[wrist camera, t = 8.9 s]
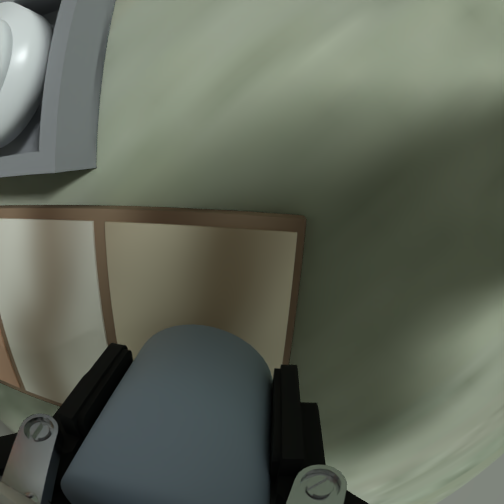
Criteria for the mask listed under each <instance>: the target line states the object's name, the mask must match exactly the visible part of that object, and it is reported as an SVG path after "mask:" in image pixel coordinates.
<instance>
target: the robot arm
mask: <svg viewBox="0 0 504 504" xmlns="http://www.w3.org/2000/svg"><path fill="white" fill-rule="evenodd" d="M132 362H133V356H132V352H131V350H128V348H127V346H126V345H122V344H116V343H110V344H109V346H108V347H107V348H106V349H105V351H104V352H103V353H102V354H101V356H100V357H99V358H98V360H97V361H96V362H95V363H94V365H93V366H92V367H91V369H90V370H89V371H88V372H87V373H86V374H85V375H84V376H83V377H82V379H81V380H80V381H79V382H78V384H77V385H76V386H75V388H74V389H73V390H72V392H71V393H70V394H69V396H68V397H67V398H66V400H65V401H64V402H63V404H62V405H61V406H60V408H59V409H58V410H57V412H56V413H55V415H54V416H53V417H51V416H49V415H46V414H35V415H31V416H29V417H27V418H26V419H25V420H24V421H23V422H22V424H21V426H20V428H19V431H18V433H15V434H10V435H6V436H1V437H0V504H71V503H70V501H69V500H68V499H67V498H66V496H65V495H64V493H63V491H62V488H61V479H62V477H63V476H64V474H65V472H66V470H67V469H68V467H69V465H70V464H71V462H72V460H73V458H74V457H75V455H76V453H77V452H78V450H79V448H80V447H81V445H82V443H83V441H84V440H85V438H86V436H87V435H88V433H89V431H90V430H91V428H92V426H93V425H94V423H95V422H96V420H97V418H98V417H99V415H100V413H101V412H102V410H103V408H104V407H105V405H106V404H107V402H108V400H109V399H110V397H111V396H112V394H113V392H114V391H115V389H116V388H117V386H118V384H119V383H120V381H121V380H122V378H123V376H124V375H125V373H126V372H127V370H128V369H129V367H130V365H131V364H132ZM269 475H270V504H368V503H367V502H365V501H363V500H362V499H360V498H358V497H357V496H355V495H354V494H352V493H350V492H349V491H347V482H346V479H345V477H344V475H343V474H342V473H341V472H340V471H339V470H337V469H335V468H334V467H331V466H327V465H325V457H324V449H323V441H322V433H321V425H320V418H319V410H318V405H317V403H304V402H300V392H299V380H298V368H297V365H283V364H281V366H280V368H274V374H273V382H272V412H271V444H270V470H269Z"/></svg>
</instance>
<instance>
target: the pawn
mask: <svg viewBox="0 0 504 504" xmlns="http://www.w3.org/2000/svg"><path fill="white" fill-rule="evenodd" d="M272 382H273V379H272V375H271V372H270V369H269V367H268V365H267V363H266V362H265V360H264V359H263V357H262V356H261V355H260V354H259V353H258V352H257V351H256V350H255V349H254V348H253V347H252V346H251V345H250V344H248V343H247V342H245V341H244V340H243V339H241V338H239V337H237V336H235V335H234V334H231V333H229V332H227V331H224V330H221V329H218V328H215V327H210V326H205V325H194V324H192V325H179V326H173V327H170V328H166V329H164V330H162V331H159V332H158V333H156V334H155V335H153V336H152V337H151V338H150V339H148V340H147V342H146V343H145V344H144V345H143V347H142V348H141V350H140V351H139V353H138V355H137V356H136V358H135V359H134V361H133V362H132V364H131V365H130V367H129V369H128V370H127V372H126V373H125V375H124V376H123V378H122V380H121V381H120V383H119V384H118V386H117V388H116V389H115V391H114V392H113V394H112V396H111V397H110V399H109V400H108V402H107V404H106V405H105V407H104V408H103V410H102V412H101V413H100V415H99V417H98V418H97V420H96V422H95V423H94V425H93V426H92V428H91V430H90V431H89V433H88V435H87V436H86V438H85V440H84V441H83V443H82V445H81V447H80V448H79V450H78V452H77V453H76V455H75V457H74V458H73V460H72V462H71V464H70V465H69V467H68V469H67V470H66V472H65V474H64V476H63V477H62V479H61V488H62V491H63V493H64V495H65V496H66V498H67V499H68V500H69V501H70V503H71V504H270V475H269V470H270V444H271V412H272Z"/></svg>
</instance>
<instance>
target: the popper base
mask: <svg viewBox="0 0 504 504" xmlns="http://www.w3.org/2000/svg"><path fill="white" fill-rule="evenodd" d="M115 1H116V0H0V3H3V2H14V3H17V4H19V5H21V6H23V7H25V8H27V9H29V10H31V11H33V12H35V13H37V14H39V15H41V16H43V17H44V18H46V19H47V21H48V22H49V23H50V25H51V27H52V29H53V37H52V41H51V46H50V52H49V57H48V63H47V69H46V75H45V83H44V90H43V98H42V100H41V103H40V104H39V106H38V108H37V110H36V112H35V114H34V115H33V117H32V119H31V120H30V122H29V123H28V124H27V126H26V127H25V128H24V130H23V131H22V132H21V133H20V134H19V135H18V136H17V137H16V138H15V139H14V140H13V141H12V142H10V143H9V144H7V145H6V146H4V147H2V148H0V177H9V176H19V175H31V174H44V173H57V172H65V171H73V170H82V169H91V168H96V152H97V129H98V114H99V102H100V92H101V83H102V75H103V67H104V60H105V53H106V47H107V41H108V35H109V30H110V24H111V19H112V15H113V10H114V5H115Z"/></svg>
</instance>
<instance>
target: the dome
mask: <svg viewBox="0 0 504 504" xmlns="http://www.w3.org/2000/svg"><path fill="white" fill-rule="evenodd" d="M52 37H53V29H52V27H51V25H50V23H49V22H48V21H47V19H46V18H44V17H43V16H41V15H39V14H37V13H35V12H33V11H31V10H29V9H27V8H25V7H23V6H21V5H19V4H17V3H14V2H3V3H0V148H2V147H4V146H6V145H7V144H9V143H10V142H12V141H13V140H14V139H15V138H16V137H17V136H18V135H19V134H20V133H21V132H22V131H23V130H24V128H25V127H26V126H27V124H28V123H29V122H30V120H31V119H32V117H33V115H34V114H35V112H36V110H37V108H38V106H39V104H40V103H41V100H42V98H43V90H44V83H45V75H46V69H47V63H48V57H49V52H50V46H51V41H52Z"/></svg>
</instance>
